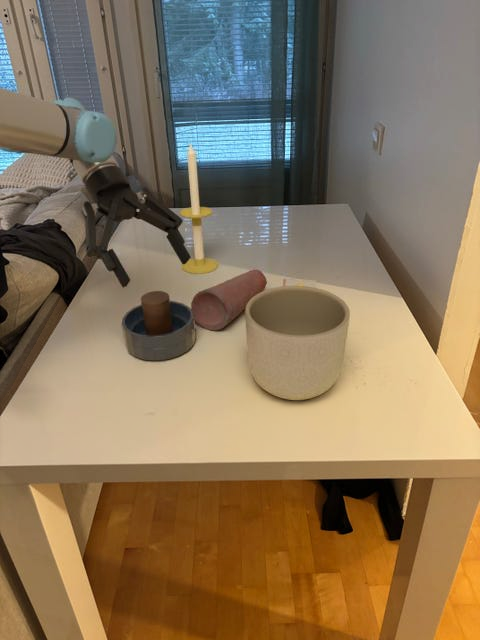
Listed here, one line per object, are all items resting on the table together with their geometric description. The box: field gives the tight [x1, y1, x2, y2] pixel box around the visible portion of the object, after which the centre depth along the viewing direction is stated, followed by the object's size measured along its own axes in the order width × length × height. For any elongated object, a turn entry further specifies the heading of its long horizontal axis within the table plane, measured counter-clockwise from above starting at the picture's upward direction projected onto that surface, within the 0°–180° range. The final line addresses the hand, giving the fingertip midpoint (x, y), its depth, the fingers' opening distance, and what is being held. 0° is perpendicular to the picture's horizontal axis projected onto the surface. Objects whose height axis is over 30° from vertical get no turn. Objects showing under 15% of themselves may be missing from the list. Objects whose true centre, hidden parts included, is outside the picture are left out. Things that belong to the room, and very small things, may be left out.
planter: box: [244, 285, 351, 401], centre depth 80 cm, size 17×17×15 cm
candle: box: [179, 141, 219, 275], centre depth 120 cm, size 10×10×32 cm
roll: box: [140, 290, 173, 336], centre depth 93 cm, size 6×6×10 cm
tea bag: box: [282, 278, 317, 288], centre depth 100 cm, size 4×7×10 cm, turn 79°
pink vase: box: [190, 269, 268, 331], centre depth 105 cm, size 21×10×9 cm, turn 152°
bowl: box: [121, 300, 196, 361], centre depth 95 cm, size 14×14×6 cm
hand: (158, 272), depth 86 cm, fingers open, 13 cm apart
